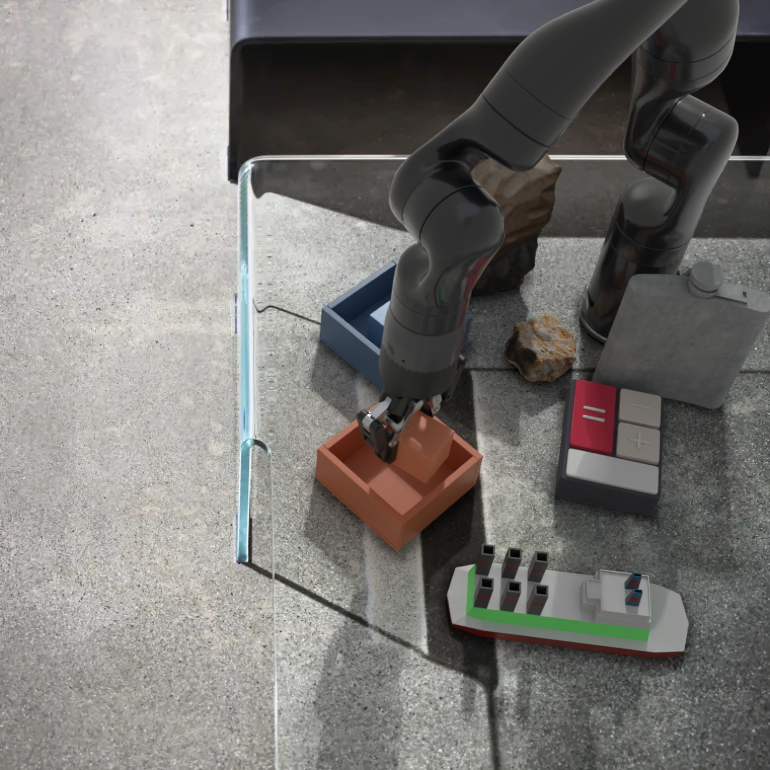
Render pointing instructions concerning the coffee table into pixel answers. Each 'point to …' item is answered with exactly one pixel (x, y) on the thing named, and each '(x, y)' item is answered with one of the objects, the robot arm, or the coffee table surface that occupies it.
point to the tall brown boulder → (516, 219)
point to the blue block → (377, 325)
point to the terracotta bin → (393, 484)
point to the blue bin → (361, 322)
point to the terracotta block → (423, 447)
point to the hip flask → (682, 335)
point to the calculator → (611, 448)
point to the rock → (541, 348)
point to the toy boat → (566, 607)
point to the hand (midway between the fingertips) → (402, 443)
